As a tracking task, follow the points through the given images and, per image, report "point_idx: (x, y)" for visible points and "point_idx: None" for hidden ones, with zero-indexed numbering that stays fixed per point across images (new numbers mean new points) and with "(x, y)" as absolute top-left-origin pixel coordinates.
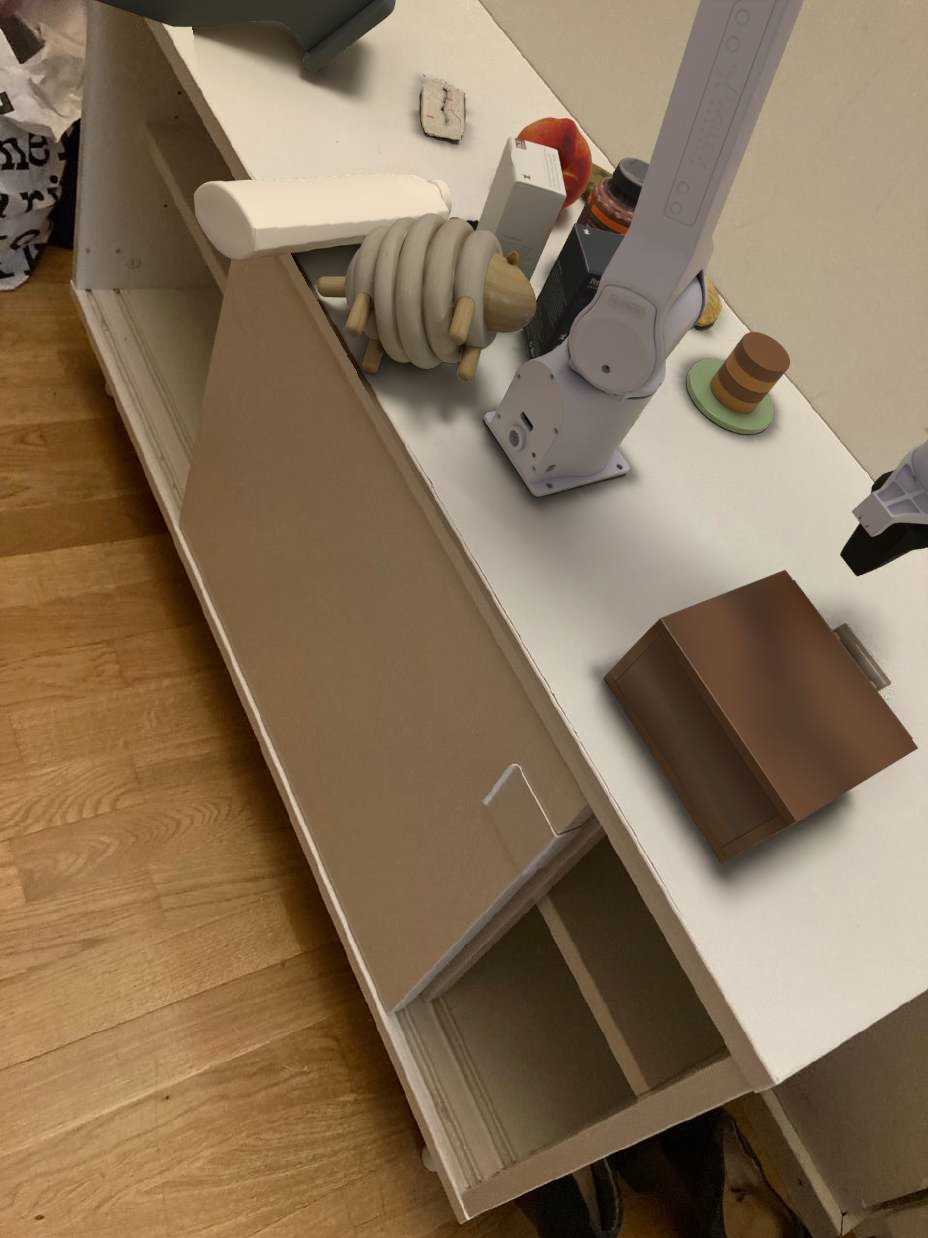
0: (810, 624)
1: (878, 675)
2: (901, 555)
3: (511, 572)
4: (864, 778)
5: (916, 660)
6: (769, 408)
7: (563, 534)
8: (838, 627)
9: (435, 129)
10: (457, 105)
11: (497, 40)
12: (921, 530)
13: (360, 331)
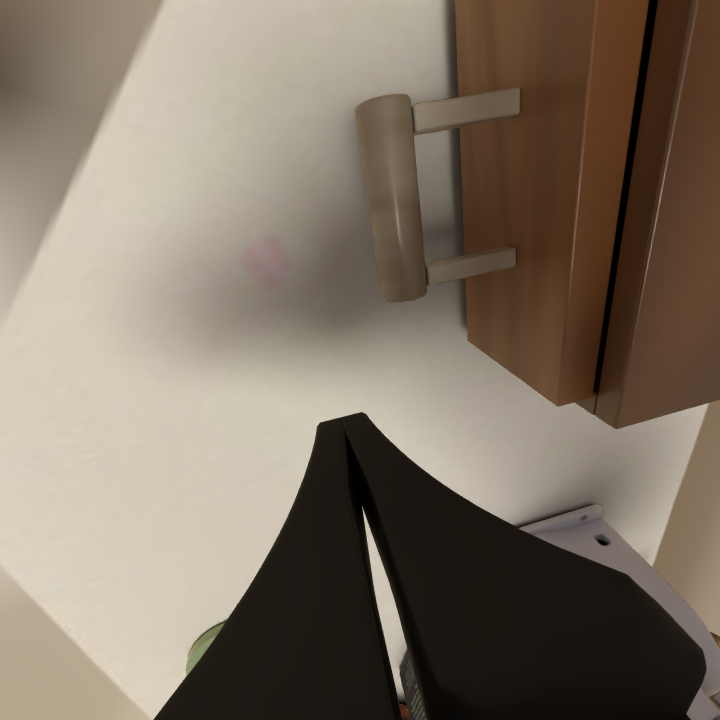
0: (688, 285)
1: (404, 134)
2: (332, 484)
3: (677, 423)
4: None
5: (63, 219)
6: (198, 658)
7: (594, 465)
8: (423, 294)
9: None
10: None
11: None
12: (649, 709)
13: (717, 641)
